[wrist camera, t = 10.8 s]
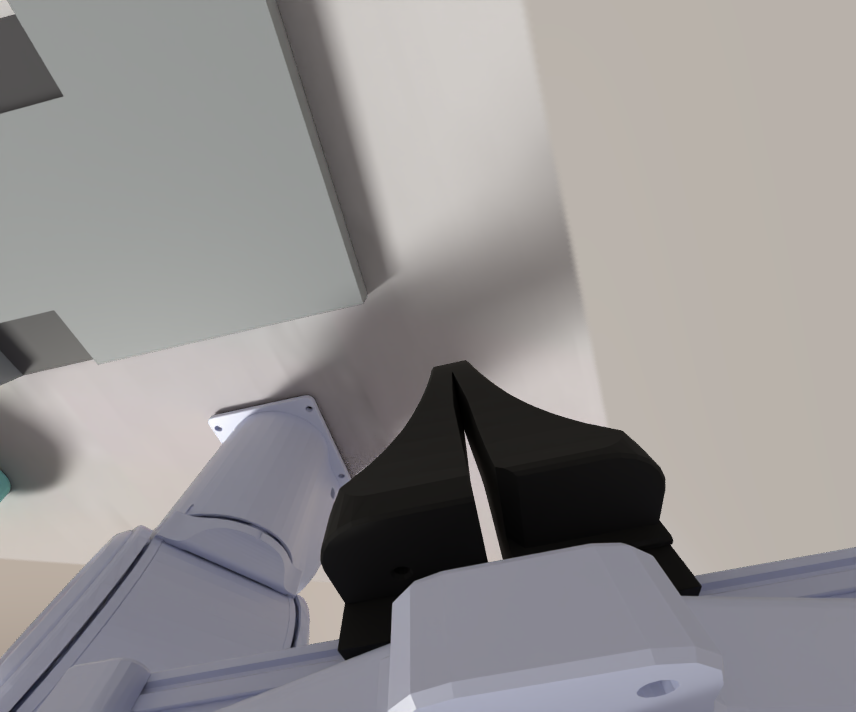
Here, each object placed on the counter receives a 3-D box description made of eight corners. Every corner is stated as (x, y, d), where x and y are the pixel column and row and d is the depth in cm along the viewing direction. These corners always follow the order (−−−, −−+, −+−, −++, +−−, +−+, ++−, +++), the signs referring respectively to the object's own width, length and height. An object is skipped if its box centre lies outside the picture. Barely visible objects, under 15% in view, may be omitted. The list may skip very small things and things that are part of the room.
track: (367, 294, 19) (360, 310, 16) (-73, 396, 21) (-150, 426, 18) (260, -51, 13) (216, -125, 10) (-376, 133, 14) (-576, 114, 11)
